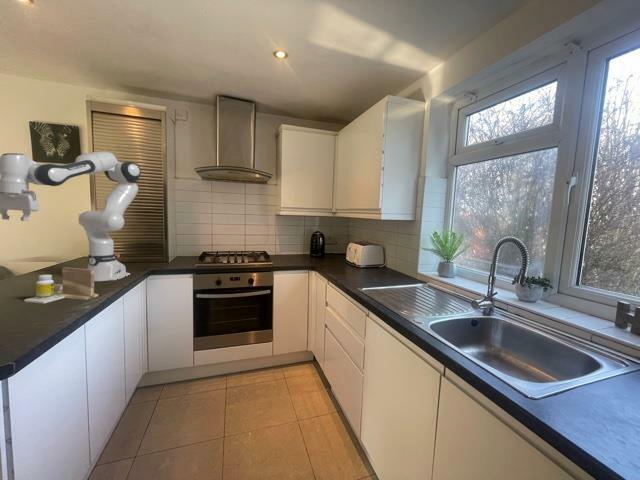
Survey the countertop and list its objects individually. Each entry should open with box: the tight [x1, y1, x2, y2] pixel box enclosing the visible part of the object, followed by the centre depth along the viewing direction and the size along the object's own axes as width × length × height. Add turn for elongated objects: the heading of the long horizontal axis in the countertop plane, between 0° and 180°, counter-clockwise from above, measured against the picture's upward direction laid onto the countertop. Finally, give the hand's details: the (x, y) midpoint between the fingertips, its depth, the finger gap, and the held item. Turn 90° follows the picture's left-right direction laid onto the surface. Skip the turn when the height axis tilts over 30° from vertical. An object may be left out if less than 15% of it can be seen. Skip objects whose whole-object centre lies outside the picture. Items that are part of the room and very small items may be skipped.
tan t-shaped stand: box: [58, 266, 99, 301], centre depth 124 cm, size 6×14×13 cm, turn 85°
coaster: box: [24, 294, 66, 304], centre depth 119 cm, size 9×9×1 cm
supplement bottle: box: [35, 274, 55, 299], centre depth 118 cm, size 5×5×10 cm
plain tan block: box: [54, 283, 62, 295], centre depth 127 cm, size 4×4×4 cm
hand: (15, 220), depth 124 cm, fingers open, 8 cm apart
